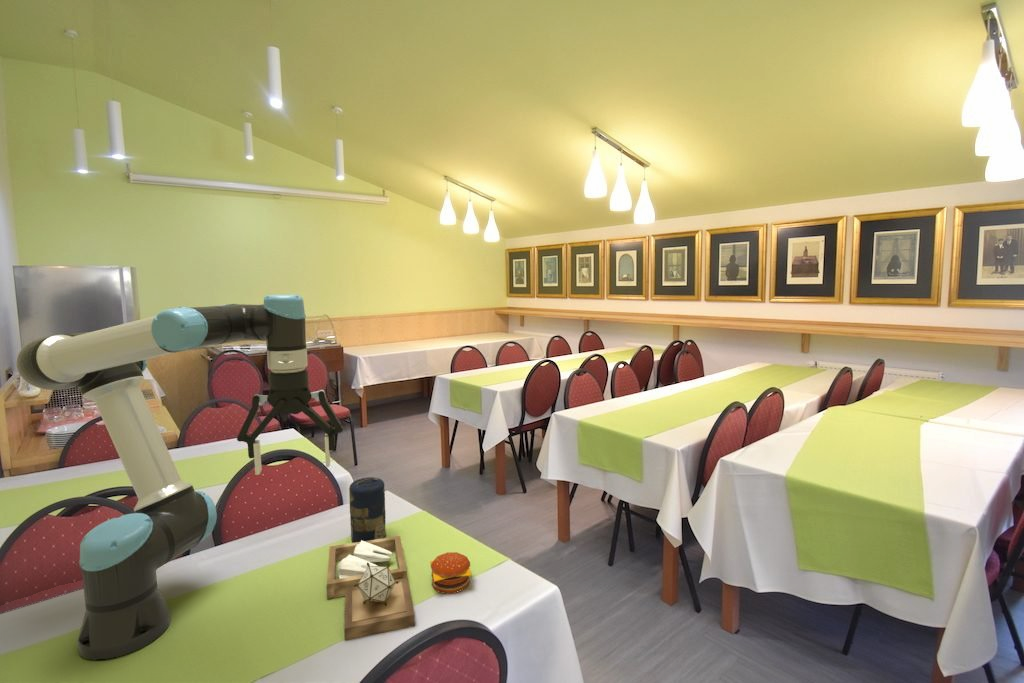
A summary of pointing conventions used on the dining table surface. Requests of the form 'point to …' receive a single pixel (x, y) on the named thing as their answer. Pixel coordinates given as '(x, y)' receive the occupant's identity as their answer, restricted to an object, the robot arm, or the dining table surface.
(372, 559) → the white folded napkins
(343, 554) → the oak frame
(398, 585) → the walnut board
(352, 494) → the canister
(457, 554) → the hamburger
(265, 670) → the dining table surface
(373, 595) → the game die
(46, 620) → the dining table surface
